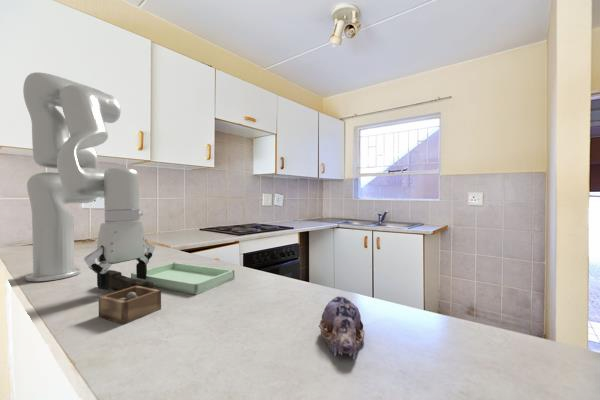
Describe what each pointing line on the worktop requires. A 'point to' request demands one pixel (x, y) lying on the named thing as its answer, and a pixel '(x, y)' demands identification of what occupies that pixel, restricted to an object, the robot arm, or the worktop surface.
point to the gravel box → (129, 304)
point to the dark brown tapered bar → (125, 281)
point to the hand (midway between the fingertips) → (123, 283)
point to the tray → (186, 277)
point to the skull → (342, 326)
